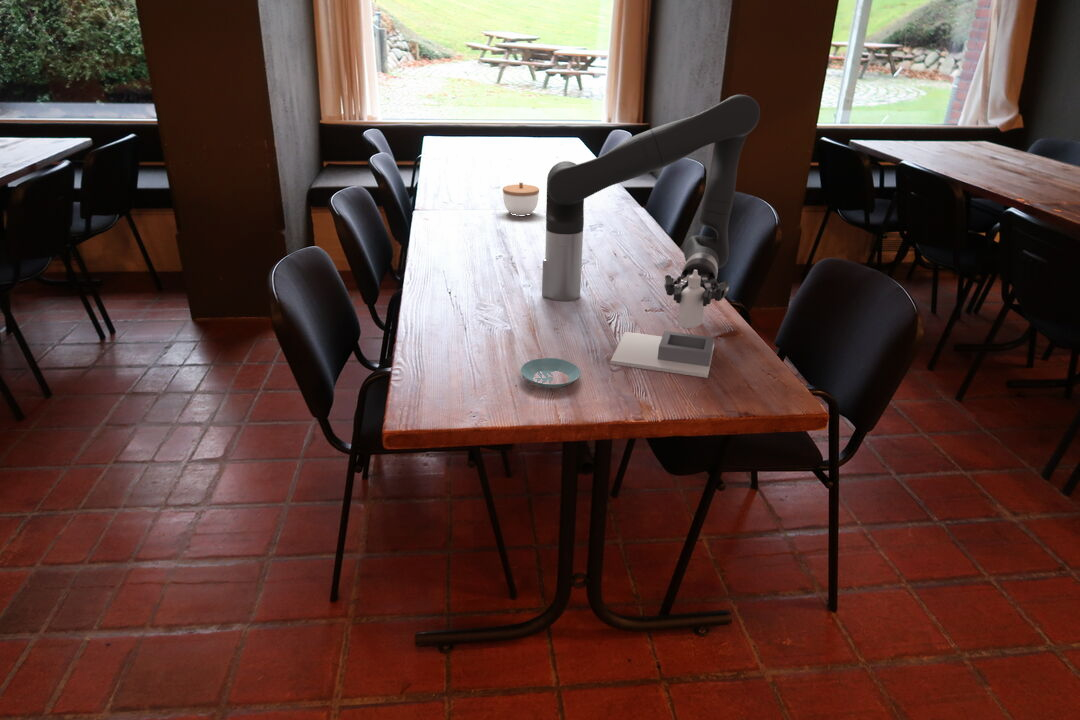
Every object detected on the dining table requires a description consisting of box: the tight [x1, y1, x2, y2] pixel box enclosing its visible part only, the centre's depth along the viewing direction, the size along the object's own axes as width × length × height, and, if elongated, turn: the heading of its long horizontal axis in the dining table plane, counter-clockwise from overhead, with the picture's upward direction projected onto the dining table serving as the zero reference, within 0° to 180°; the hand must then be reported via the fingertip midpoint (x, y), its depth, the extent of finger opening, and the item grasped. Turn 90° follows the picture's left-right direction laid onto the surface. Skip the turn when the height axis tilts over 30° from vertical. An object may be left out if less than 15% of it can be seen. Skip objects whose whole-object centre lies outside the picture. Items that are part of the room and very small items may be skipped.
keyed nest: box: [610, 330, 715, 379], centre depth 161 cm, size 20×16×4 cm
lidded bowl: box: [502, 182, 540, 215], centre depth 264 cm, size 13×13×11 cm
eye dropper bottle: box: [677, 270, 705, 330], centre depth 155 cm, size 4×6×12 cm
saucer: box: [520, 357, 581, 389], centre depth 150 cm, size 12×12×2 cm
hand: (691, 300), depth 152 cm, fingers closed on eye dropper bottle, 4 cm apart
